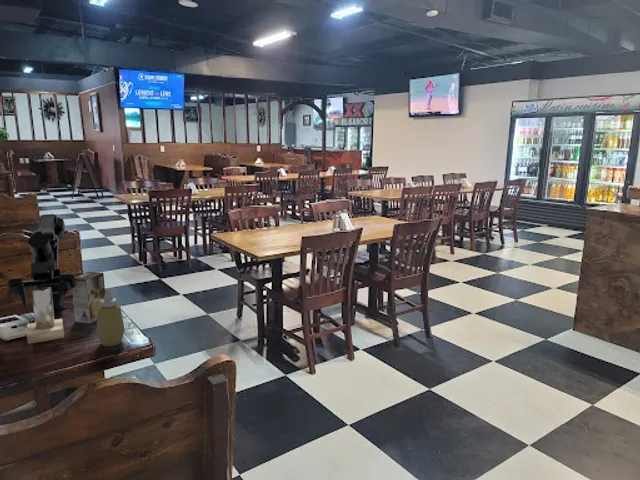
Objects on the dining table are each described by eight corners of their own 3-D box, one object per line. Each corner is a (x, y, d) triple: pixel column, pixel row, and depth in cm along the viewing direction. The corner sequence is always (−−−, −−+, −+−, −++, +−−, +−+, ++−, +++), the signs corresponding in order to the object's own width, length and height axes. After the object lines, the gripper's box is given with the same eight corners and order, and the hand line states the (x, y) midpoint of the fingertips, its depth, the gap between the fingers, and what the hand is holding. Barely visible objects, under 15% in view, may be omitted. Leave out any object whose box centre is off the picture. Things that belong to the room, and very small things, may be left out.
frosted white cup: (45, 322, 153) (42, 286, 151) (58, 324, 152) (55, 288, 149) (31, 327, 148) (27, 290, 146) (44, 330, 147) (41, 292, 144)
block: (28, 332, 152) (27, 323, 152) (62, 326, 157) (62, 318, 157) (27, 343, 144) (26, 334, 143) (64, 337, 149) (63, 328, 148)
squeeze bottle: (98, 350, 141) (93, 294, 137) (97, 340, 148) (92, 286, 144) (126, 345, 144) (122, 291, 140) (124, 336, 151) (120, 283, 147)
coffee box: (92, 312, 170) (88, 270, 167) (107, 314, 169) (104, 272, 166) (74, 322, 161) (70, 278, 158) (90, 323, 160) (86, 279, 157)
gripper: (4, 253, 145) (1, 298, 137) (72, 249, 152) (72, 291, 144) (12, 271, 153) (9, 314, 146) (75, 266, 161) (76, 307, 153)
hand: (42, 306), depth 147 cm, fingers open, 9 cm apart
